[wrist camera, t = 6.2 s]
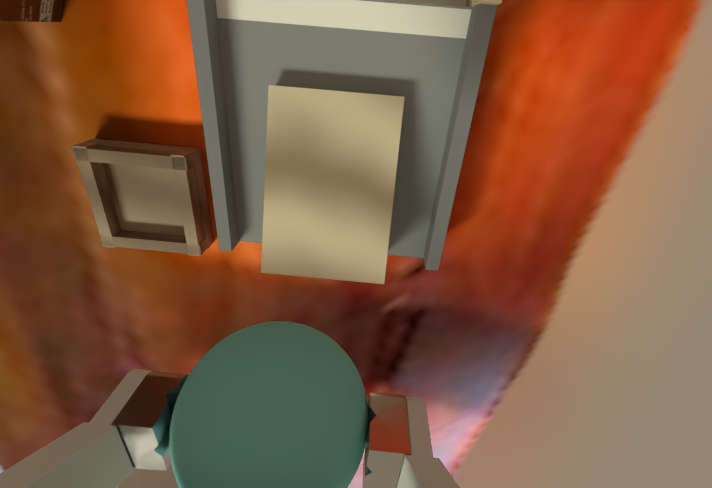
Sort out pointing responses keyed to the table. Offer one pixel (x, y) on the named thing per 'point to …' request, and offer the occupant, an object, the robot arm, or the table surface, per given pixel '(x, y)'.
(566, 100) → the table surface
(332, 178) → the ramp
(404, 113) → the grey railed platform
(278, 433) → the ball
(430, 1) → the tray
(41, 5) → the food container
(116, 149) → the brown square wooden tray
